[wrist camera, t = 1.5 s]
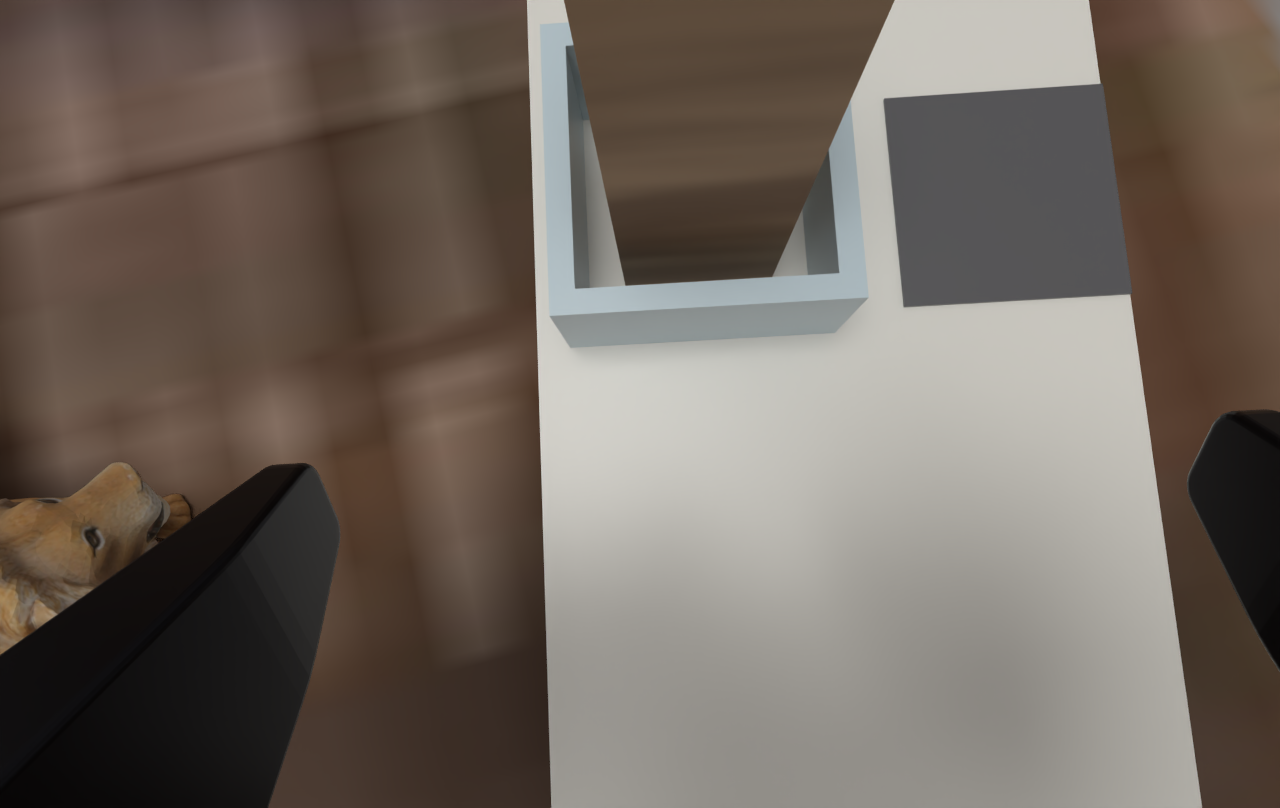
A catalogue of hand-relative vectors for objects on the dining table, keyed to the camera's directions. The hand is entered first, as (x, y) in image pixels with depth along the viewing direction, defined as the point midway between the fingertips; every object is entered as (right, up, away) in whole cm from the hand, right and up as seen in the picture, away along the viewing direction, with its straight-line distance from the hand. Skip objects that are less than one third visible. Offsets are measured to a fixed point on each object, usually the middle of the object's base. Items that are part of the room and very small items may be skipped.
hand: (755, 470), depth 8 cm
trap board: (+4, +1, +13) cm, 14 cm away
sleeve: (0, +6, +13) cm, 14 cm away
